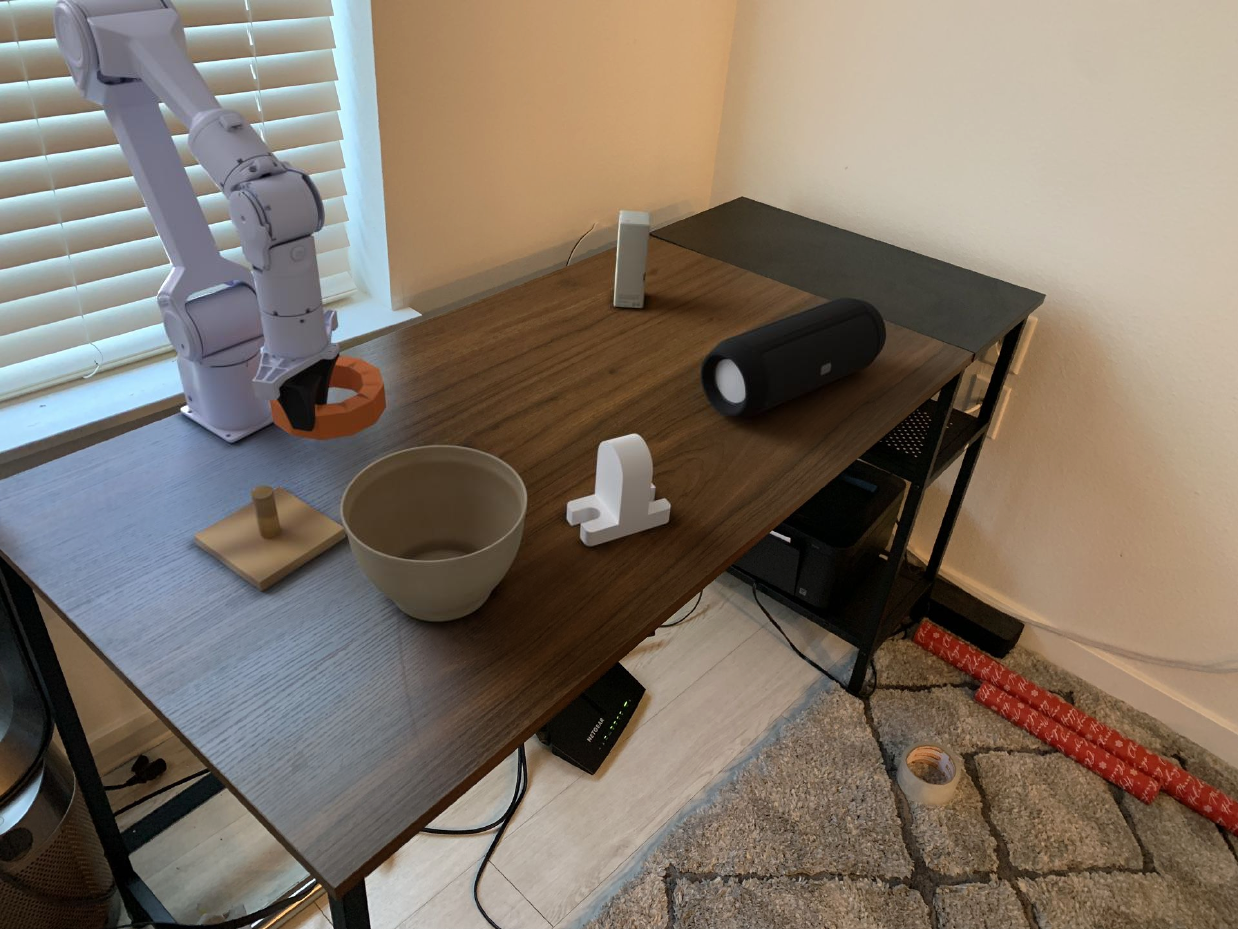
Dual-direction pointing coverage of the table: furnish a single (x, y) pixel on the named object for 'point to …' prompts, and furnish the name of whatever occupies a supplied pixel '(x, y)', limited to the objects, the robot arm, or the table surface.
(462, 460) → the planter bowl
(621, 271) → the box
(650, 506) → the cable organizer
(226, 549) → the peg stand
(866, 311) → the portable speaker
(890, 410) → the table surface
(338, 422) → the rubber ring
